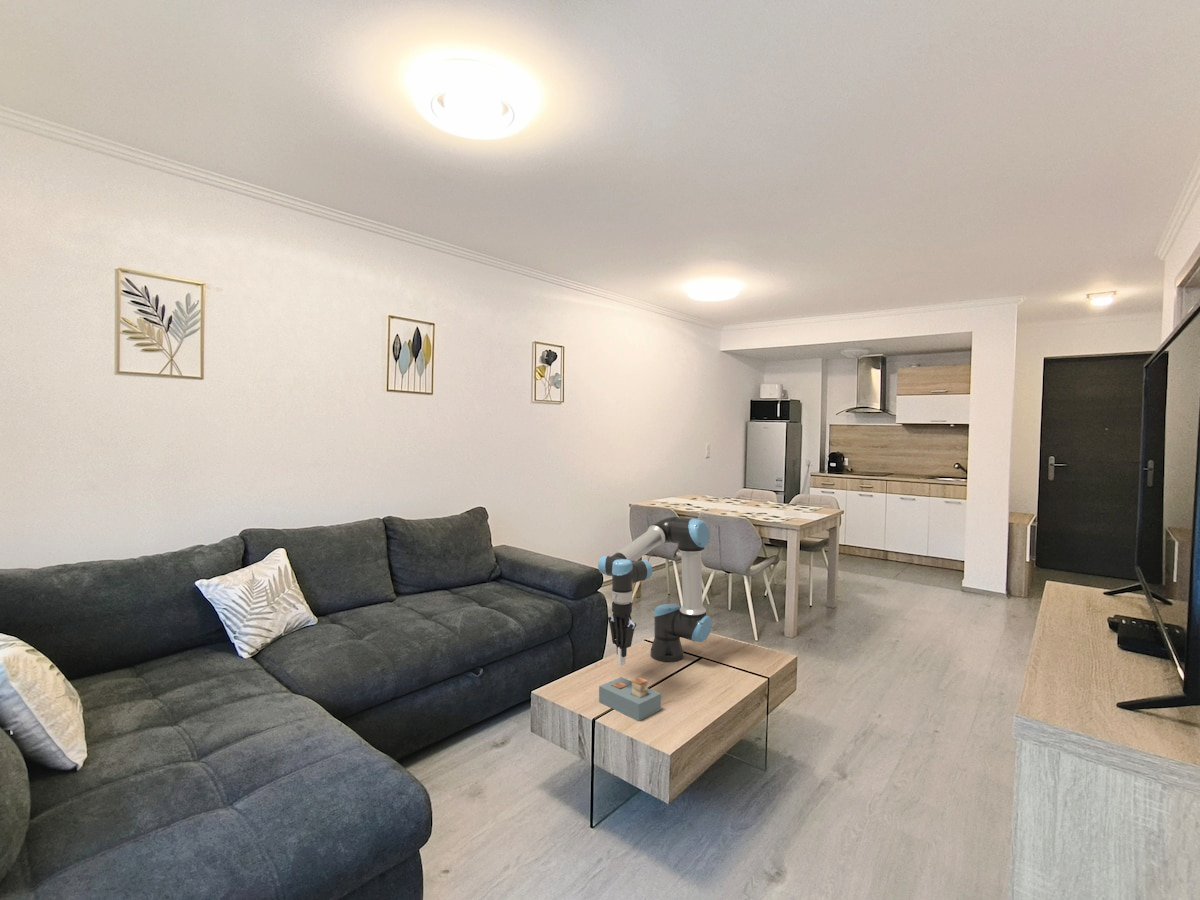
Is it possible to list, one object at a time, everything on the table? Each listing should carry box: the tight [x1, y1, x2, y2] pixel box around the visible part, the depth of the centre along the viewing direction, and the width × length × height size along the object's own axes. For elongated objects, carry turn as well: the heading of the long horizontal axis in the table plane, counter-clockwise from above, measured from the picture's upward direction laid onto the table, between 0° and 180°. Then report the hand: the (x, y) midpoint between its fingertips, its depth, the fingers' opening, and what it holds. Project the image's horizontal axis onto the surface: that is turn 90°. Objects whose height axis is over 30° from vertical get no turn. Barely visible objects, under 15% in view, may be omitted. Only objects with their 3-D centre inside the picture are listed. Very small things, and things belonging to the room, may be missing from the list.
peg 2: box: [631, 676, 649, 698], centre depth 203 cm, size 4×4×6 cm
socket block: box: [598, 676, 662, 722], centre depth 207 cm, size 12×20×6 cm, turn 44°
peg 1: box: [612, 682, 627, 689], centre depth 211 cm, size 4×4×6 cm
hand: (621, 664), depth 210 cm, fingers closed
